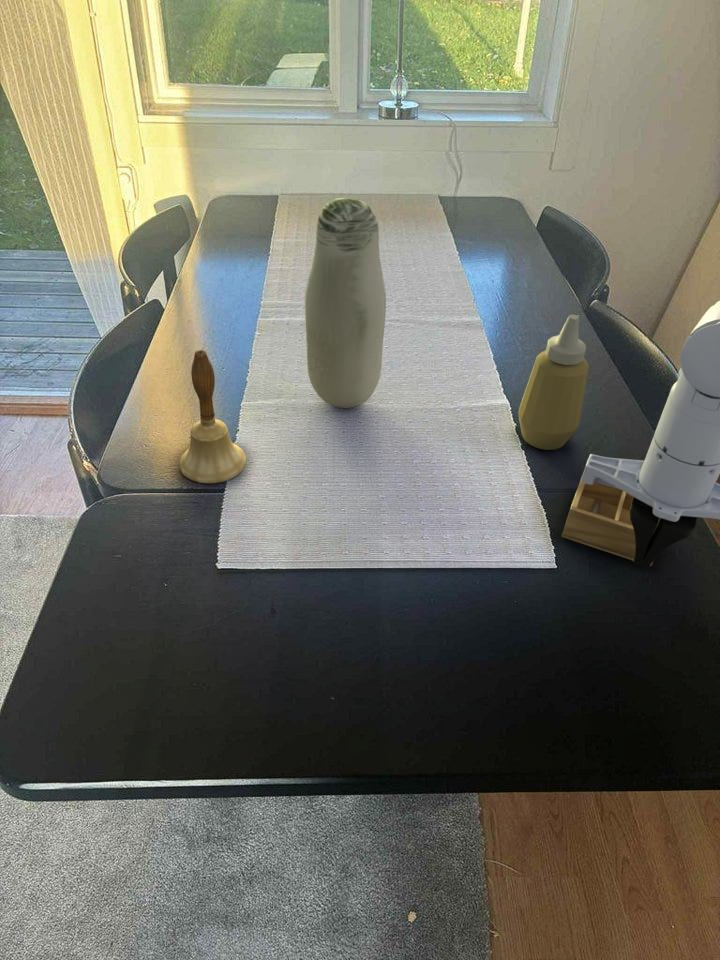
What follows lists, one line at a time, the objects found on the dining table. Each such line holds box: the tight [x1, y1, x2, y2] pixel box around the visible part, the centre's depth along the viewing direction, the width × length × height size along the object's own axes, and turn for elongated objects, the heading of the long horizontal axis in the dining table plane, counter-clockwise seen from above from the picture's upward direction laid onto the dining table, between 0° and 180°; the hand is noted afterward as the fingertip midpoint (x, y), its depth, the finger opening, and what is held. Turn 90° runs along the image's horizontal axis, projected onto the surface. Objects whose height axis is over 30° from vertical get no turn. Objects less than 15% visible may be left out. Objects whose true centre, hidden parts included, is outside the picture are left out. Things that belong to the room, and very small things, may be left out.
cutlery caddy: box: [561, 471, 660, 567], centre depth 80 cm, size 8×10×4 cm
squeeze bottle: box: [517, 314, 590, 451], centre depth 89 cm, size 8×8×18 cm
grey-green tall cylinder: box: [304, 197, 387, 409], centre depth 91 cm, size 10×10×28 cm
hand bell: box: [179, 349, 247, 484], centre depth 83 cm, size 8×8×16 cm
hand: (642, 558), depth 65 cm, fingers closed
